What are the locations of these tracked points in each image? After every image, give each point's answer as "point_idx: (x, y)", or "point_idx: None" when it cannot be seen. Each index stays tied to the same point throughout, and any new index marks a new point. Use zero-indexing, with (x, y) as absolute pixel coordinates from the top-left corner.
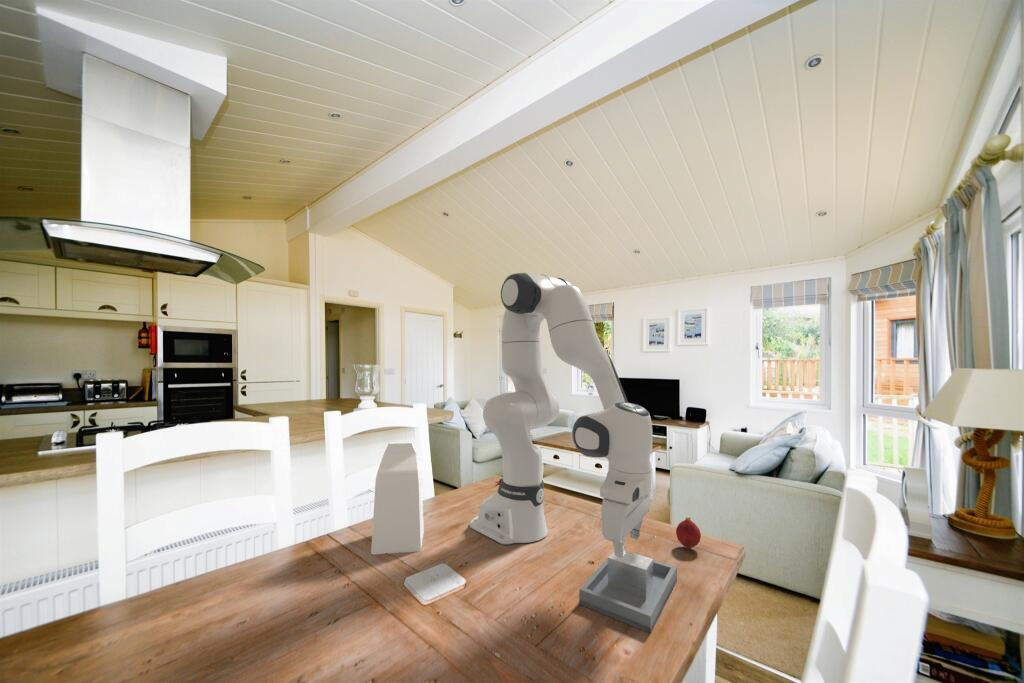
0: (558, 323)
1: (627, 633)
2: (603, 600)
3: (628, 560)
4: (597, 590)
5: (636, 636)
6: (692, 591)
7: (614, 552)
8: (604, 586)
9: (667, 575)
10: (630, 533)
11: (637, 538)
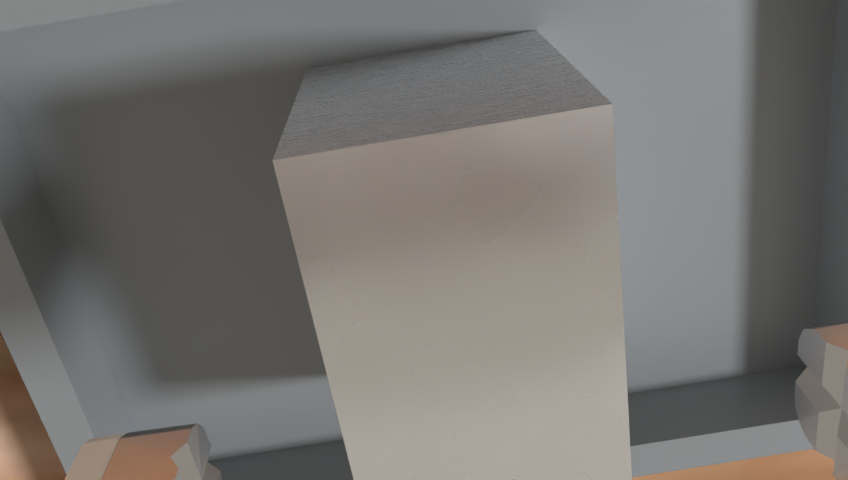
0: None
1: (14, 395)
2: None
3: (410, 369)
4: (173, 31)
5: (42, 438)
6: (750, 473)
7: (74, 460)
8: (282, 45)
9: (706, 438)
10: (843, 355)
11: (803, 426)
